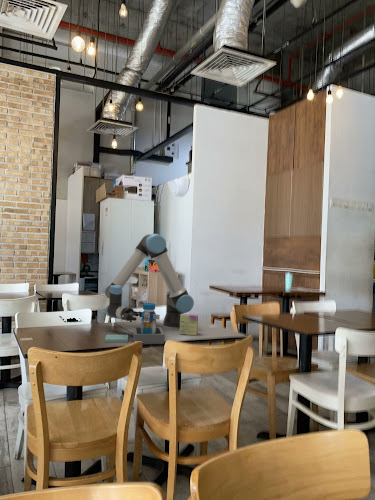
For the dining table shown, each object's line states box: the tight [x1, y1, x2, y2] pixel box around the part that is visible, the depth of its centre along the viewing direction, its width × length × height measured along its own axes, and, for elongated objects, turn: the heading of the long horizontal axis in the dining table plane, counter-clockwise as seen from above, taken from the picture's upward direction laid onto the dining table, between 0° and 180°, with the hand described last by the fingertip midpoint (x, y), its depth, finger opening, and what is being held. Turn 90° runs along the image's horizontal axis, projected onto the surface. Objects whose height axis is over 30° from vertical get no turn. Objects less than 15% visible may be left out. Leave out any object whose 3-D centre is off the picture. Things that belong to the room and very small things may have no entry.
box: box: [179, 313, 199, 336], centre depth 241 cm, size 10×6×12 cm, turn 84°
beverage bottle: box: [140, 302, 157, 334], centre depth 222 cm, size 8×8×20 cm
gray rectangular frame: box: [132, 326, 165, 345], centre depth 222 cm, size 16×20×5 cm
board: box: [104, 334, 129, 343], centre depth 220 cm, size 12×12×2 cm
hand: (150, 318), depth 221 cm, fingers open, 13 cm apart
